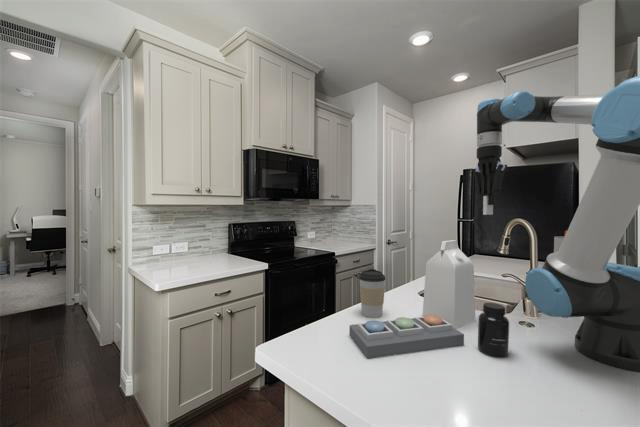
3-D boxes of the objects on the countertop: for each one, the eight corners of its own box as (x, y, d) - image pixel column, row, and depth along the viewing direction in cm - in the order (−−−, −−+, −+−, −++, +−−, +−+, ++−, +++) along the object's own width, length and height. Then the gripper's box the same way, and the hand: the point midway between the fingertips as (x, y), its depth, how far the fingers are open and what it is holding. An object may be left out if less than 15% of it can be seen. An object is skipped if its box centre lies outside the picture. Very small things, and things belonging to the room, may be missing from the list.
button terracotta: (446, 326, 81) (446, 320, 81) (430, 327, 80) (430, 322, 80) (435, 319, 86) (435, 313, 86) (420, 320, 85) (420, 315, 85)
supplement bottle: (498, 361, 70) (499, 312, 70) (472, 348, 76) (472, 303, 76) (514, 354, 73) (515, 307, 73) (488, 342, 79) (488, 299, 79)
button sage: (417, 329, 79) (417, 323, 79) (401, 331, 78) (401, 325, 78) (407, 322, 84) (407, 316, 84) (392, 323, 82) (392, 318, 82)
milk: (443, 309, 104) (444, 238, 103) (475, 320, 94) (476, 241, 93) (422, 317, 97) (422, 240, 96) (454, 329, 88) (455, 244, 87)
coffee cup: (385, 320, 95) (385, 275, 94) (357, 318, 96) (357, 273, 96) (384, 310, 103) (385, 268, 103) (359, 308, 105) (359, 267, 105)
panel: (463, 345, 78) (464, 328, 78) (367, 358, 71) (367, 340, 71) (433, 325, 90) (434, 311, 90) (349, 335, 84) (349, 320, 84)
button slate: (387, 332, 77) (387, 327, 77) (370, 335, 75) (370, 328, 75) (379, 325, 81) (379, 319, 81) (362, 327, 80) (362, 321, 80)
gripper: (466, 149, 105) (465, 214, 106) (495, 142, 92) (494, 215, 93) (483, 150, 107) (482, 213, 108) (514, 143, 94) (513, 215, 95)
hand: (487, 214), depth 100 cm, fingers closed
